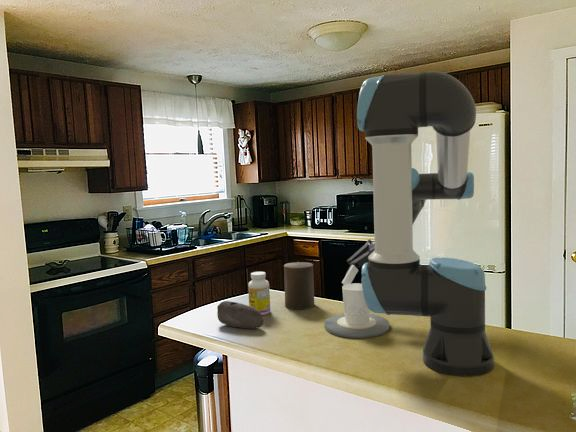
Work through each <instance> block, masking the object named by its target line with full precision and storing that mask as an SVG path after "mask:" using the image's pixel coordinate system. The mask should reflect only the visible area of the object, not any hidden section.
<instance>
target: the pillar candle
mask: <svg viewBox="0 0 576 432" xmlns="http://www.w3.org/2000/svg"><path fill="white" fill-rule="evenodd" d="M283 268H284V269H283V271H284V274H283V275H284V276H283V277H284V278H283V279H284V306H285V307H286V308H287V309H289V310H290V309H291V310H308V309H311V308H314V306H315V285H314V284H315V282H314V281H315V280H314V264H313V263H311V262H304V261H303V262H301V261H300V262H299V261H298V260H297V262H288V263H285V264H284V265H283Z"/></svg>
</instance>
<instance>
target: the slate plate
mask: <svg viewBox="0 0 576 432" xmlns="http://www.w3.org/2000/svg"><path fill="white" fill-rule="evenodd" d="M324 329H325V330H326V332H327V333H329V334H331V335H334V336H335V337H336V336H337V337H341V338H347V339H368V338H375V337H379V336H382V335H384V334H386V333H387V332H388V331H389V330H390V321H389V320H388V319H387V318H385V317H383V316H380V315H378V314H373V313H369V322H368V323H367V324H363V325H352V324H348V323H347V322H346V321H345V312H344V313H340V314H336V315H332V316H329V317H328V318H327V319H326V320H325V321H324Z"/></svg>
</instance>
